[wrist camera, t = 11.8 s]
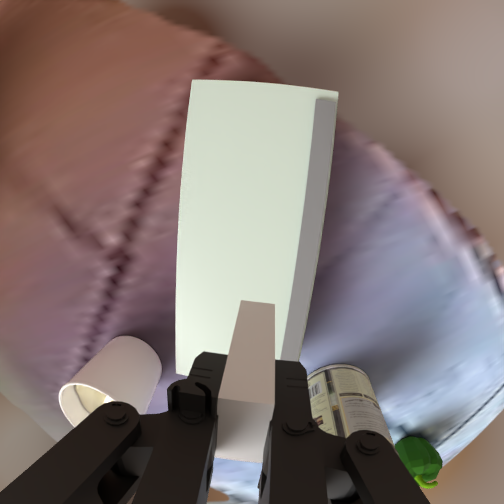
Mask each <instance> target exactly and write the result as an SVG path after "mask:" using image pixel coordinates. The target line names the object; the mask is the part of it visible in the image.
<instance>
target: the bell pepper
mask: <svg viewBox="0 0 504 504" xmlns="http://www.w3.org/2000/svg"><path fill="white" fill-rule="evenodd" d="M394 447H395V449H396V450H397V452H398V454H399V457H400V459H401V461H402V462H403V463H404V465H405V466H406V468H407V469H408V471H409V472H410V474H411V475H412V477H413V478H414V480H415V481H416V483H417V484H418V486H421V487H423V488H427V489H428V488H433V487H435V486H437V484H438V483H437V481H434V482H432V483H426V482H428V481H431V480H433V479H435V478H436V477H437V475H438V473H439V470H440V469H441V468H442V462H443V461H442V459H441V457H440V455H439V453H438V452H437V451H436V450H435V448H434V447H433V446H432V445H431V444H430V443H429V442H428V441H427V440H425V439H423V438H416V437H411V436H409V437H407V438H404V439H402V440H400V441H399V442H398V443H396V444H395V446H394Z"/></svg>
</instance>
